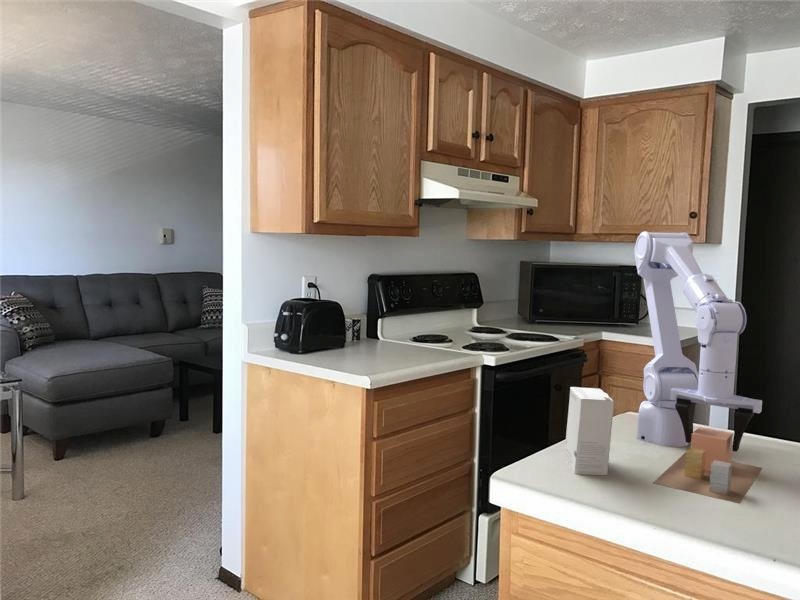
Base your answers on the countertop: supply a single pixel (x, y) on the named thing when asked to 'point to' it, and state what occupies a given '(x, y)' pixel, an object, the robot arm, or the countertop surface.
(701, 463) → the butter yellow cube
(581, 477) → the countertop surface
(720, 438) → the salmon pink cube
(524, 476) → the countertop surface
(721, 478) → the white sugar cube
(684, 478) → the board
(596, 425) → the skincare box
